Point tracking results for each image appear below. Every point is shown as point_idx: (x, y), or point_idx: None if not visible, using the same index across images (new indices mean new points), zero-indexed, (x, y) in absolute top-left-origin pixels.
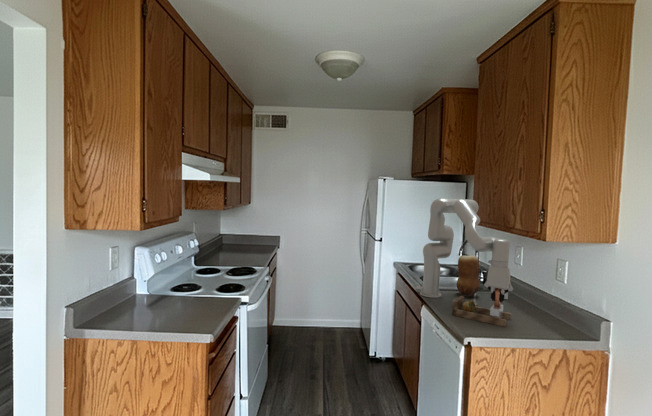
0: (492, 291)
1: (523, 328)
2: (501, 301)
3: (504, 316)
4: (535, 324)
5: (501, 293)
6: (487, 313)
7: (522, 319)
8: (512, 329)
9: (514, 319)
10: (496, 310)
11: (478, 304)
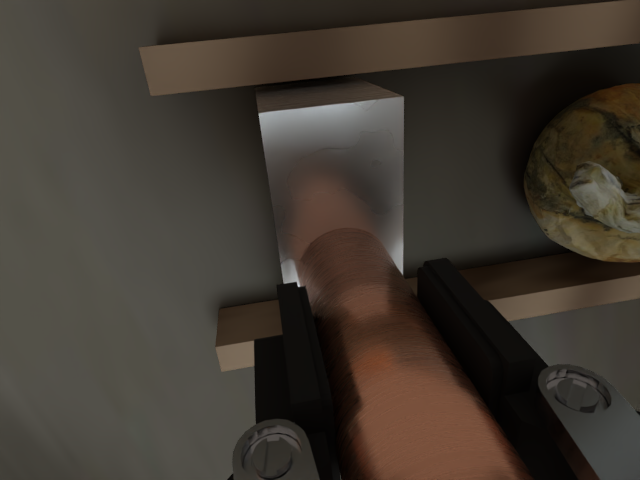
0: (563, 398)
1: (3, 156)
2: (280, 291)
3: (273, 313)
4: (10, 365)
5: (323, 448)
6: None
7: (154, 398)
8: (56, 4)
9: (200, 349)
10: (301, 103)
11: (577, 187)
